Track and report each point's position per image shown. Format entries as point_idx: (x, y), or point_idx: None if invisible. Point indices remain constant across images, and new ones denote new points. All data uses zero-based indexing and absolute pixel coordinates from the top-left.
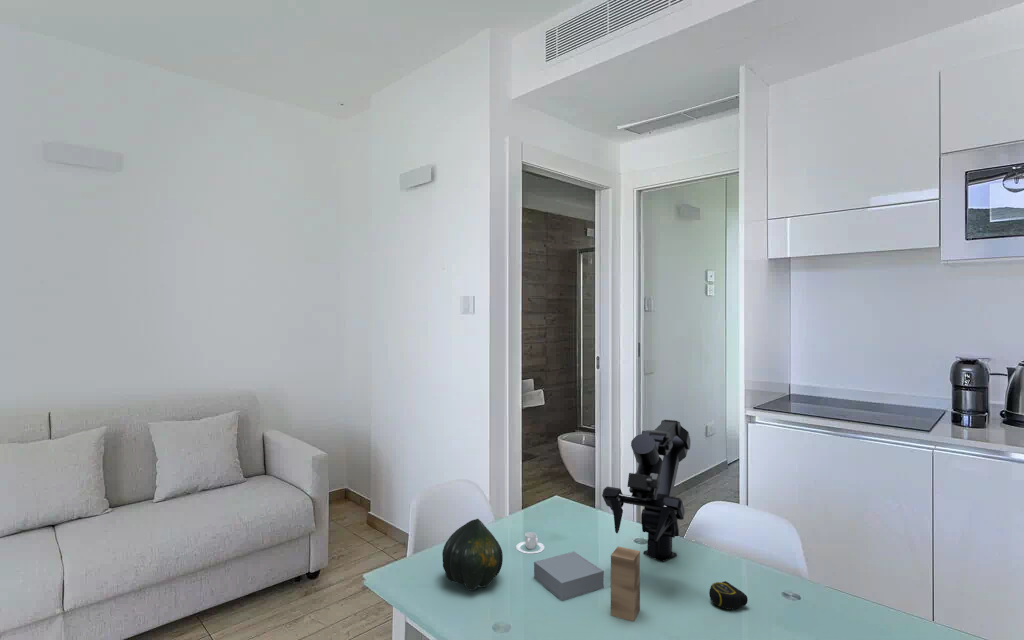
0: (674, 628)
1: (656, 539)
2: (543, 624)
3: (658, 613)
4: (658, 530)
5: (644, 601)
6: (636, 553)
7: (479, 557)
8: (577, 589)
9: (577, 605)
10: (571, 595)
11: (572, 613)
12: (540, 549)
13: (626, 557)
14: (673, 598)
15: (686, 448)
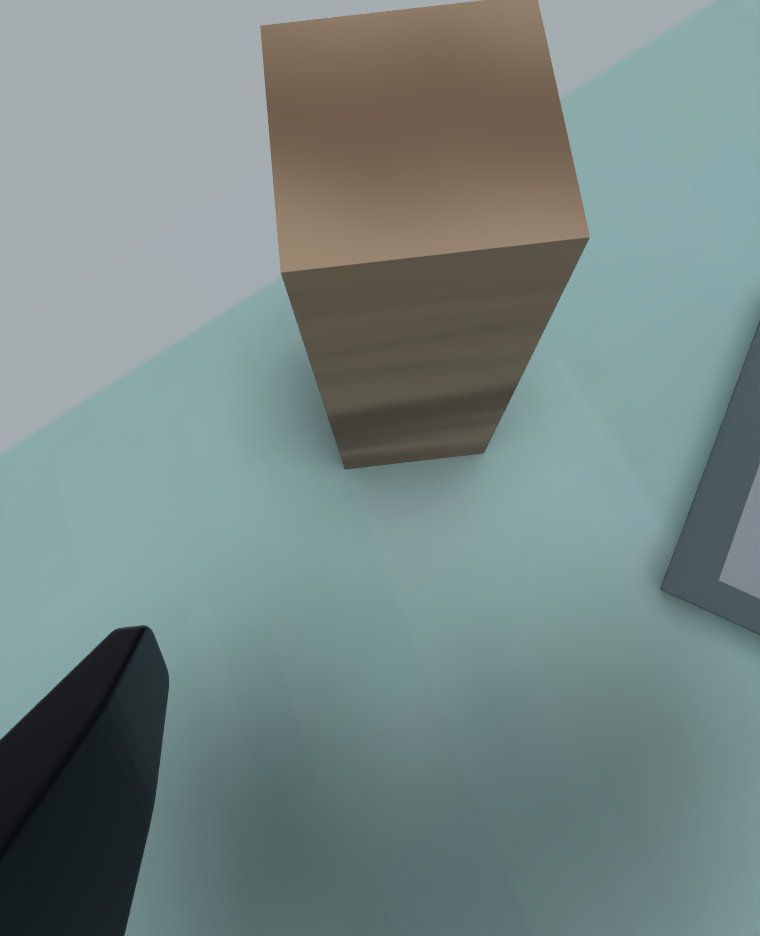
0: (119, 408)
1: (118, 635)
2: (696, 75)
3: (239, 501)
4: (21, 752)
5: (359, 584)
6: (295, 188)
7: None
8: (755, 380)
9: (668, 308)
10: (755, 351)
11: (642, 227)
12: None
13: (357, 40)
14: (206, 742)
15: None
